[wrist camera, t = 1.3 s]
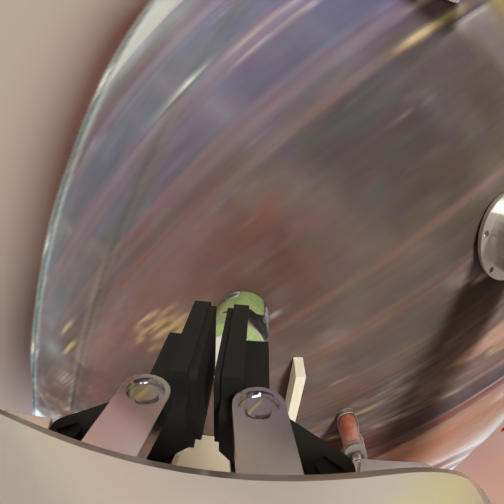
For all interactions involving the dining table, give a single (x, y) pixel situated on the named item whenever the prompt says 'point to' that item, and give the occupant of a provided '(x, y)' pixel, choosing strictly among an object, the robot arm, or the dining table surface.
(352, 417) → the lighter
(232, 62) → the dining table surface
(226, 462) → the box
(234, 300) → the beverage can
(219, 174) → the dining table surface
